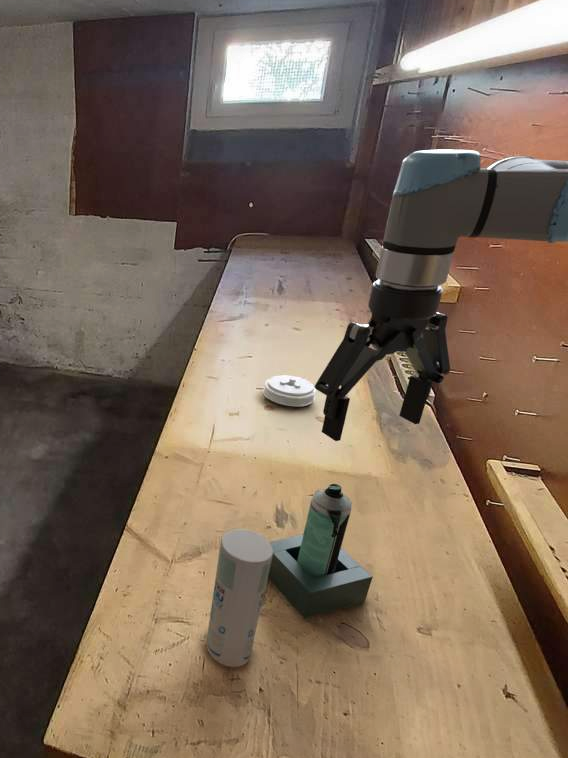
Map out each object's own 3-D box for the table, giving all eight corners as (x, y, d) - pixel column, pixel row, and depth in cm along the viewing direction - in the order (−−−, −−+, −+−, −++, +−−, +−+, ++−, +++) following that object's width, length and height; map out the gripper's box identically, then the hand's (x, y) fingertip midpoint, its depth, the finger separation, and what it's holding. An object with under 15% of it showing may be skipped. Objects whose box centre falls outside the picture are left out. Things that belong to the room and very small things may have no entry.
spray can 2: (336, 594, 91) (364, 495, 83) (305, 599, 91) (330, 500, 82) (315, 570, 96) (340, 474, 87) (286, 574, 95) (307, 478, 87)
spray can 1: (255, 671, 80) (278, 565, 71) (207, 665, 81) (224, 560, 72) (247, 633, 85) (267, 530, 76) (203, 628, 86) (218, 526, 78)
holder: (364, 602, 90) (373, 576, 87) (304, 619, 87) (310, 593, 85) (314, 553, 100) (320, 529, 97) (258, 567, 97) (263, 543, 95)
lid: (304, 388, 157) (307, 372, 155) (320, 409, 146) (324, 392, 143) (257, 387, 158) (260, 371, 156) (270, 409, 147) (273, 392, 145)
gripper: (458, 265, 77) (417, 402, 86) (303, 286, 71) (278, 430, 80) (514, 278, 70) (464, 425, 79) (348, 302, 65) (315, 457, 74)
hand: (370, 427), depth 80 cm, fingers open, 13 cm apart
